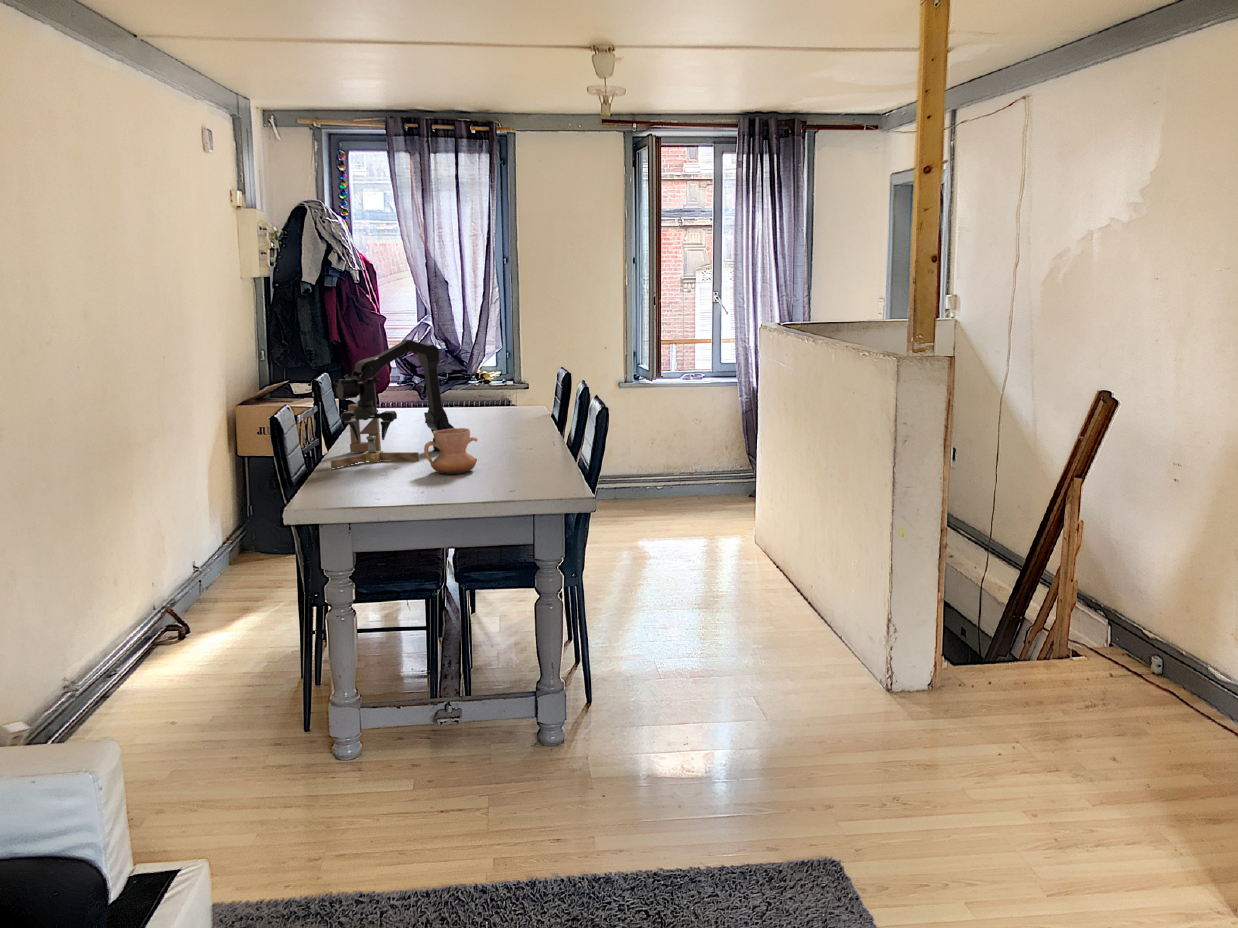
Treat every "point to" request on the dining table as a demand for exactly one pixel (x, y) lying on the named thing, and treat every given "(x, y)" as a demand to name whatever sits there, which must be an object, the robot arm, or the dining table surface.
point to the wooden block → (370, 429)
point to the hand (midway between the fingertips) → (370, 440)
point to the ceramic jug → (451, 451)
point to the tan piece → (376, 458)
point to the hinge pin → (371, 444)
